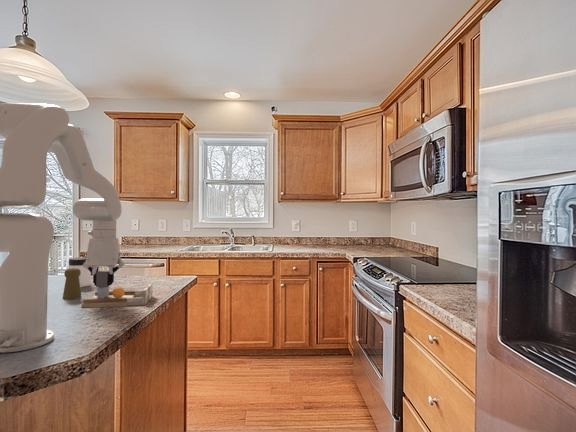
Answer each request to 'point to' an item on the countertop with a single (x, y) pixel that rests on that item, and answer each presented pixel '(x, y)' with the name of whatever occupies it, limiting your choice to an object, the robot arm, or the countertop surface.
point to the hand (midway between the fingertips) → (103, 284)
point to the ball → (118, 292)
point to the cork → (72, 284)
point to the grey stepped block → (102, 284)
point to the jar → (85, 273)
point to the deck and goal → (120, 299)
